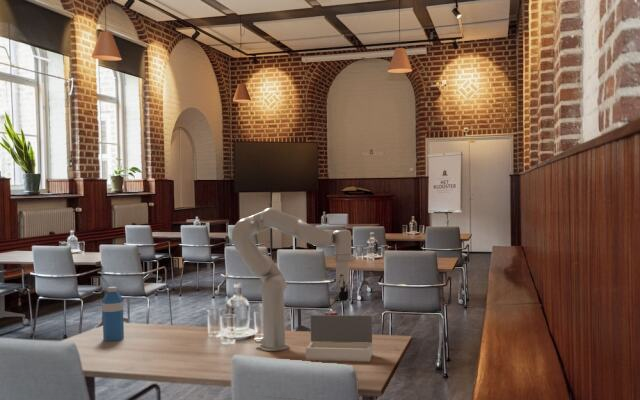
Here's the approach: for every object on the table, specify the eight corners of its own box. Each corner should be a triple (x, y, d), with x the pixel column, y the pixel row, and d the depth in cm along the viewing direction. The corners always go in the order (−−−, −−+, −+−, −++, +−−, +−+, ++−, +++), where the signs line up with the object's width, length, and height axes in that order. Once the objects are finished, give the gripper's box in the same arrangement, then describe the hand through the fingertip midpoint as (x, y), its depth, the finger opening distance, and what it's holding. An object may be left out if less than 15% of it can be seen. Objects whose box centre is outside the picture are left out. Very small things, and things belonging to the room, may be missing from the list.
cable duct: (306, 360, 256) (306, 348, 256) (311, 353, 267) (311, 341, 267) (369, 361, 252) (369, 349, 252) (372, 354, 263) (372, 342, 263)
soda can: (337, 339, 291) (336, 313, 291) (322, 338, 293) (321, 313, 293) (339, 335, 298) (339, 310, 298) (325, 335, 300) (324, 310, 300)
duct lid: (310, 315, 267) (311, 315, 268) (311, 341, 267) (311, 340, 268) (371, 316, 263) (371, 315, 264) (372, 342, 263) (372, 342, 264)
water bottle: (103, 337, 305) (102, 286, 304) (123, 336, 308) (122, 285, 307) (103, 342, 296) (101, 289, 296) (123, 340, 299) (122, 288, 298)
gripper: (337, 256, 283) (338, 296, 284) (331, 260, 267) (332, 303, 268) (353, 256, 282) (354, 296, 282) (349, 260, 266) (350, 303, 266)
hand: (343, 299), depth 275 cm, fingers closed
